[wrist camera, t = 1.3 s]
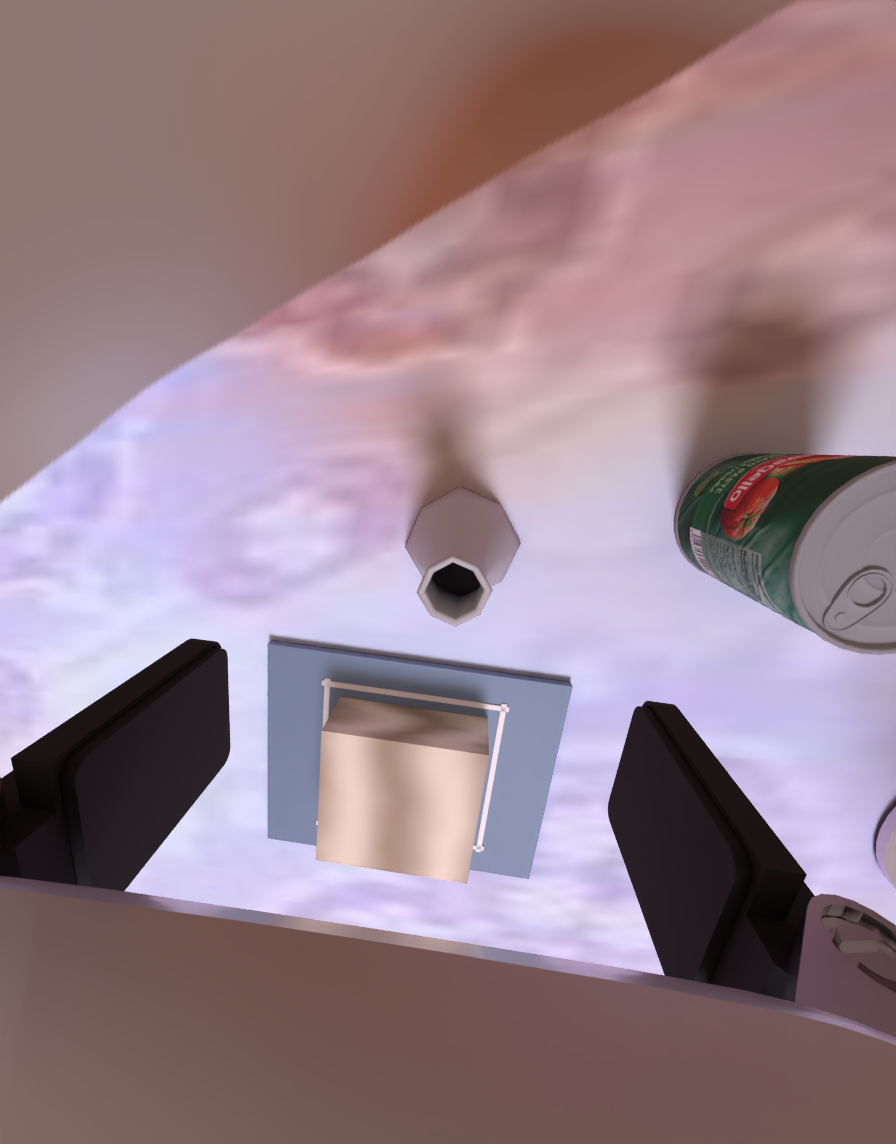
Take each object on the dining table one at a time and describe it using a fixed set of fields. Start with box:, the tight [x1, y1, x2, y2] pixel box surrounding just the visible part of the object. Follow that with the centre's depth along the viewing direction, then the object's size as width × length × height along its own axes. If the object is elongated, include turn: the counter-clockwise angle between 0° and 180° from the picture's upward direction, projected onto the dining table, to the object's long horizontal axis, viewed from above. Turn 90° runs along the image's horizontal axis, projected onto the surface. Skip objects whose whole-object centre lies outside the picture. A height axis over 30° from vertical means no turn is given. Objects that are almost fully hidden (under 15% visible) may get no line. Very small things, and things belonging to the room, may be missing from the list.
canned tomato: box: [675, 453, 896, 655], centre depth 22 cm, size 8×8×11 cm
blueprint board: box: [268, 640, 572, 879], centre depth 34 cm, size 22×18×1 cm
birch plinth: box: [316, 697, 489, 884], centre depth 31 cm, size 11×11×4 cm
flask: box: [405, 487, 521, 627], centre depth 24 cm, size 7×7×10 cm
